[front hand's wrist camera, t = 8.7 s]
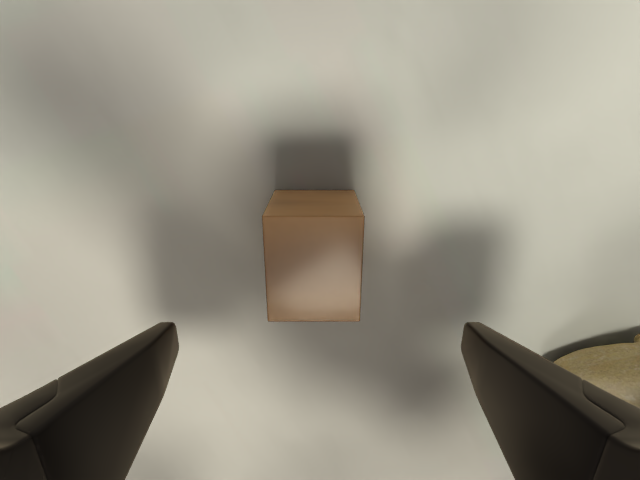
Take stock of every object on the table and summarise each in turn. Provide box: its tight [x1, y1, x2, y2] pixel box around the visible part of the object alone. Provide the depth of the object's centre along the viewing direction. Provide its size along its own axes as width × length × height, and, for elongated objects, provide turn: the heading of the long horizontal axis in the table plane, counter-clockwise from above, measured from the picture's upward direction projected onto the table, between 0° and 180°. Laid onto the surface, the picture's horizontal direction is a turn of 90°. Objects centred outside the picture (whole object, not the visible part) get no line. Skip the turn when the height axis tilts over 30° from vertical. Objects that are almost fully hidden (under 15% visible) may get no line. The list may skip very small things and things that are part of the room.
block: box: [262, 190, 364, 321], centre depth 17 cm, size 5×4×4 cm
